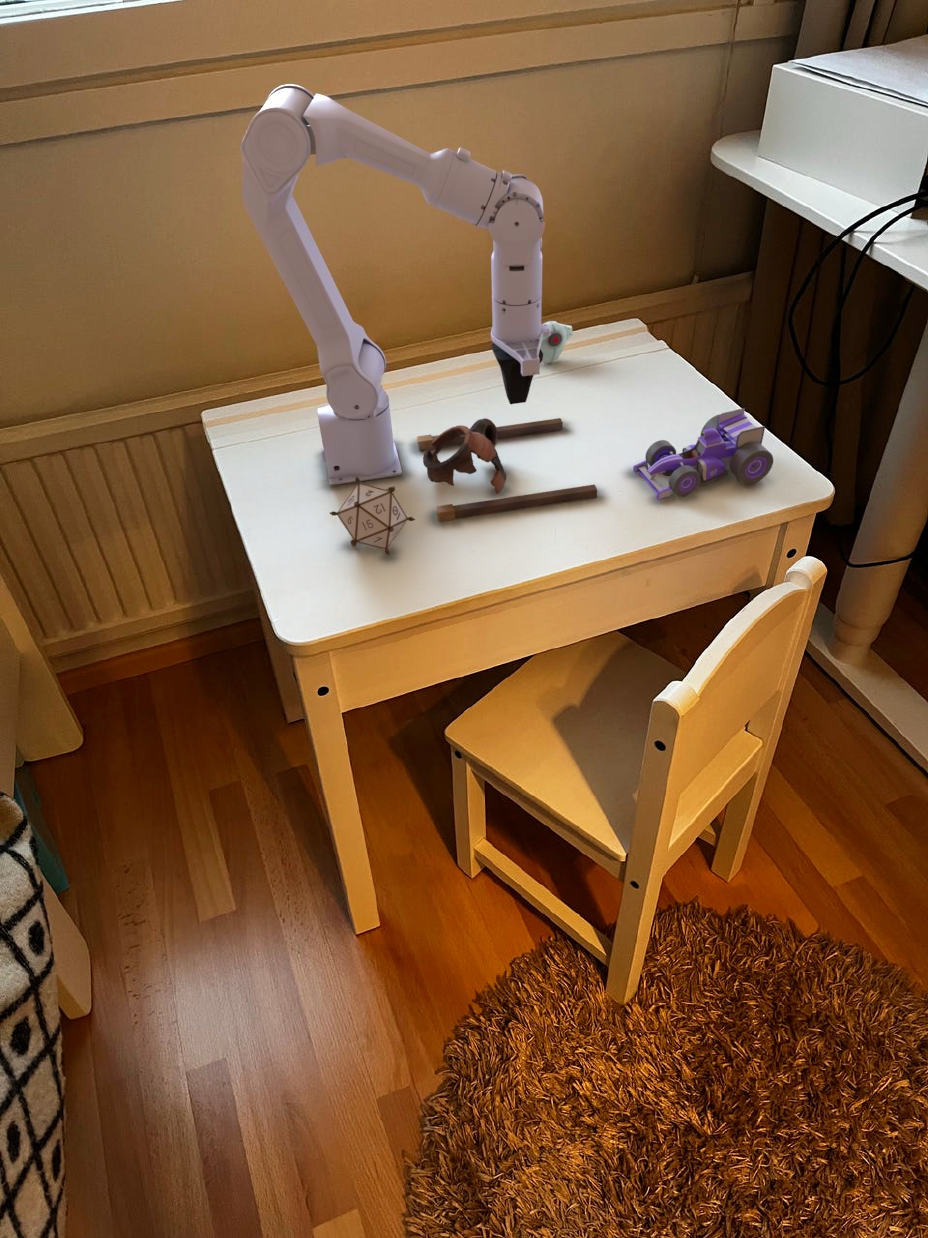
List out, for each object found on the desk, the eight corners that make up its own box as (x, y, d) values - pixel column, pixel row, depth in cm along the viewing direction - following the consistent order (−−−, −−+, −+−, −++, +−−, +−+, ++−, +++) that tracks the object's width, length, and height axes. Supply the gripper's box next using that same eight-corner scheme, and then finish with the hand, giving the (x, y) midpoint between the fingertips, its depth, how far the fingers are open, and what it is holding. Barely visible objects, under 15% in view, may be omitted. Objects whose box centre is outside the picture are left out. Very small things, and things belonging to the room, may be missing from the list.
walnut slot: (439, 522, 112) (438, 512, 111) (417, 445, 124) (416, 436, 123) (597, 497, 114) (597, 488, 113) (560, 424, 126) (560, 415, 125)
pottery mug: (498, 511, 113) (461, 466, 108) (441, 519, 119) (404, 477, 114) (529, 441, 119) (495, 395, 114) (473, 452, 125) (439, 409, 120)
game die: (366, 561, 112) (334, 485, 111) (429, 537, 111) (397, 459, 109) (346, 575, 104) (311, 493, 102) (414, 549, 102) (379, 465, 100)
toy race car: (627, 466, 118) (631, 422, 114) (729, 441, 121) (737, 398, 117) (662, 507, 112) (668, 462, 107) (770, 480, 115) (780, 435, 110)
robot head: (568, 352, 141) (569, 310, 137) (579, 364, 138) (581, 322, 134) (520, 362, 140) (520, 320, 135) (530, 374, 137) (530, 332, 132)
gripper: (567, 318, 100) (563, 426, 109) (535, 265, 110) (534, 368, 120) (504, 326, 99) (505, 434, 108) (478, 272, 109) (481, 375, 119)
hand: (516, 400), depth 114 cm, fingers closed
